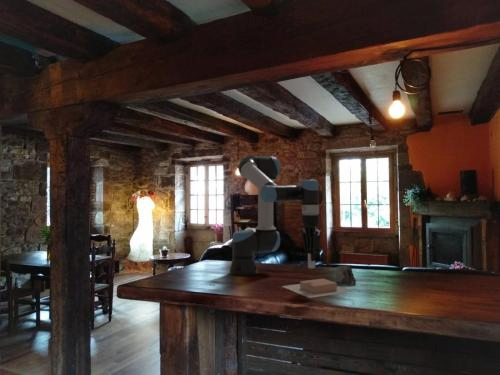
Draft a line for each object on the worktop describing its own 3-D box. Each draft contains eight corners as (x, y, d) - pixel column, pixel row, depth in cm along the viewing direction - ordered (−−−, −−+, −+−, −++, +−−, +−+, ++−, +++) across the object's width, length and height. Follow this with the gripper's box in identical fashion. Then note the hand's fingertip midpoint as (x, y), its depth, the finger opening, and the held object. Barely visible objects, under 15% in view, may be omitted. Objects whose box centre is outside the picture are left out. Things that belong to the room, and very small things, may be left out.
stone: (356, 263, 170) (334, 261, 173) (355, 280, 162) (332, 278, 166) (356, 276, 176) (335, 274, 179) (356, 293, 168) (333, 291, 171)
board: (281, 288, 164) (281, 286, 164) (322, 283, 173) (321, 281, 173) (309, 300, 144) (309, 297, 144) (353, 294, 153) (353, 291, 153)
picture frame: (300, 281, 159) (313, 286, 150) (322, 278, 164) (336, 283, 155) (300, 288, 159) (313, 293, 150) (322, 285, 164) (337, 290, 155)
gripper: (295, 214, 167) (296, 266, 166) (311, 215, 155) (313, 271, 154) (309, 213, 170) (310, 265, 169) (326, 214, 158) (327, 269, 158)
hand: (311, 267), depth 162 cm, fingers closed
